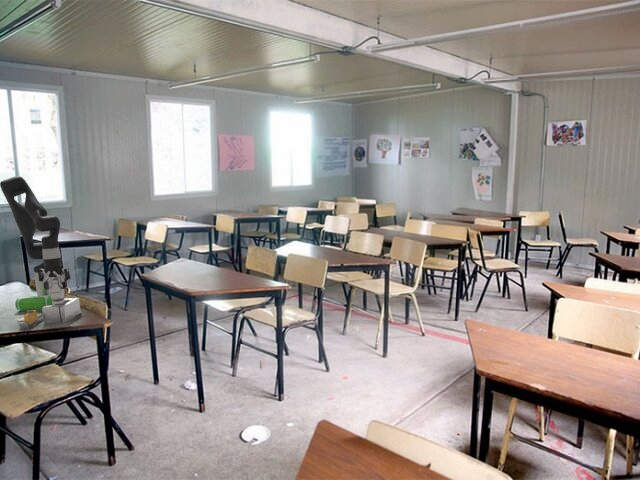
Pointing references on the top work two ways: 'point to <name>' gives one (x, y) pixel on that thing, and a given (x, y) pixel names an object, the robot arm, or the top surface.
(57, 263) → the robot arm
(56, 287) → the plastic bottle
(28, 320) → the orange rounded block
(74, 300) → the small white box
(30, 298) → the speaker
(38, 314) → the mat
